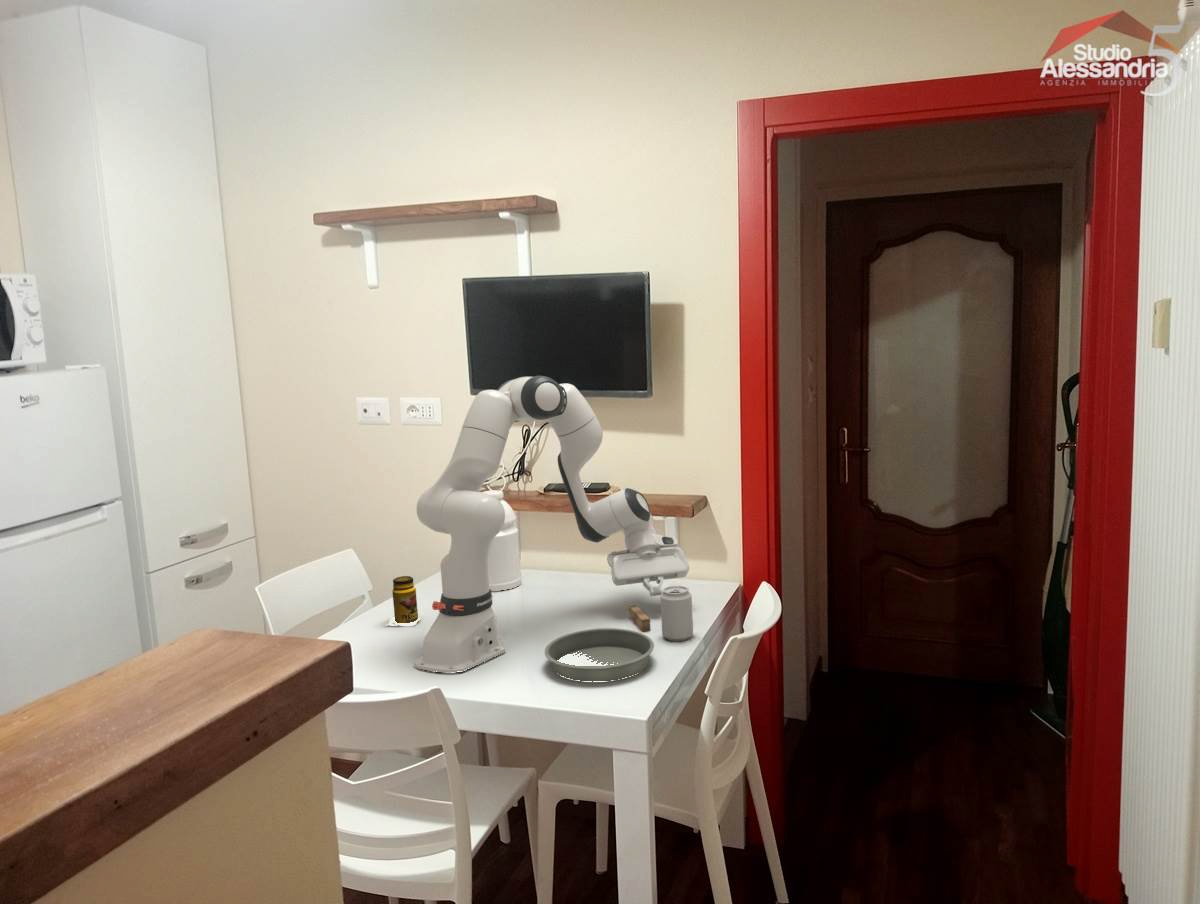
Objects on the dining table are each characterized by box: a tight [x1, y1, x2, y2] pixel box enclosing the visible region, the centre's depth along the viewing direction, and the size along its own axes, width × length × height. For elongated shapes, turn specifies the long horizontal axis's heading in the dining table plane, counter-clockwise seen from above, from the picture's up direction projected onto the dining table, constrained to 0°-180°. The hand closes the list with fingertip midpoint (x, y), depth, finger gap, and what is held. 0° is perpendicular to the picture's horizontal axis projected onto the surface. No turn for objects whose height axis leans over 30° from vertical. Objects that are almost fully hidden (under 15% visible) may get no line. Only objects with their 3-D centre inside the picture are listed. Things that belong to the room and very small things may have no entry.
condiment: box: [391, 575, 419, 623], centre depth 249 cm, size 7×8×12 cm
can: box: [659, 585, 694, 642], centre depth 226 cm, size 8×8×12 cm
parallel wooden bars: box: [628, 604, 693, 633], centre depth 239 cm, size 12×13×3 cm
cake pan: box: [544, 627, 655, 682], centre depth 212 cm, size 25×25×4 cm
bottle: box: [482, 489, 522, 592], centre depth 276 cm, size 14×14×28 cm
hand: (656, 594), depth 240 cm, fingers closed
